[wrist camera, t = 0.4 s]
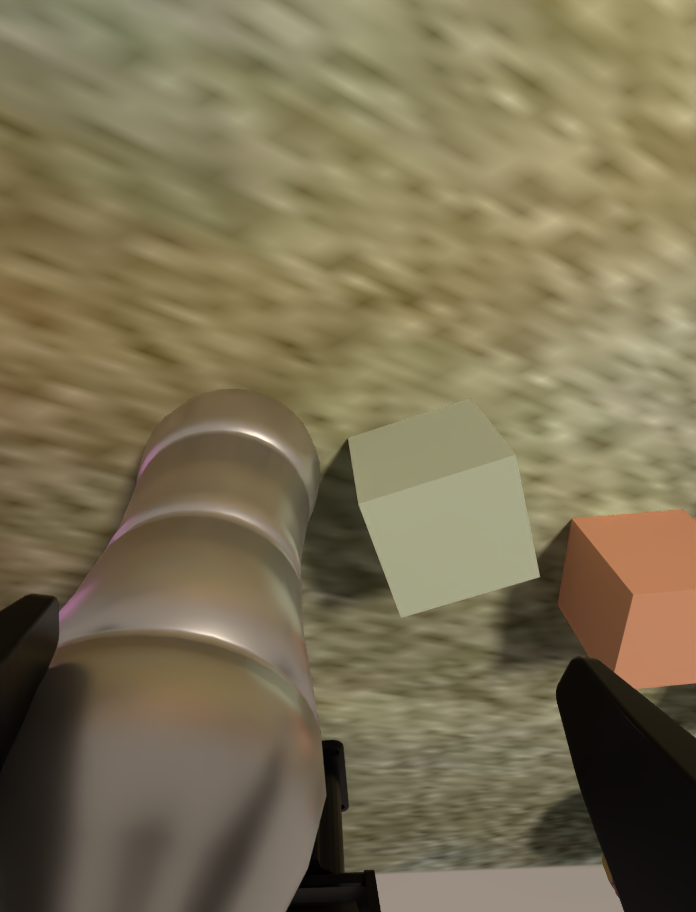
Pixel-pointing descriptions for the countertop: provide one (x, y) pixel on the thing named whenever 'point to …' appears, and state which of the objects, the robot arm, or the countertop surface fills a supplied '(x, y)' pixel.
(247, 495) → the plastic bottle
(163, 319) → the countertop surface
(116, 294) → the countertop surface
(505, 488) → the sage block
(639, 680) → the terracotta block
